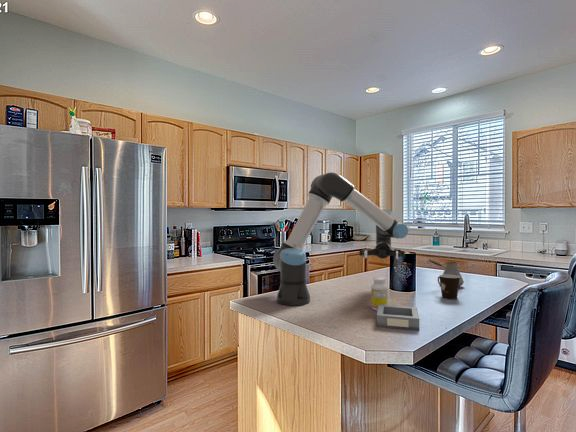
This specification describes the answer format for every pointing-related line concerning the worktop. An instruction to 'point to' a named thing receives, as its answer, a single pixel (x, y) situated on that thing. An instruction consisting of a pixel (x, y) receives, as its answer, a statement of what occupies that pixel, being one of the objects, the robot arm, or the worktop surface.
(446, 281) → the coffee mug
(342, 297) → the worktop surface
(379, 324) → the pocket tray
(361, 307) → the worktop surface
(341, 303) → the worktop surface
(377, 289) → the supplement bottle
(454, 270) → the coffee pot
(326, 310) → the worktop surface
